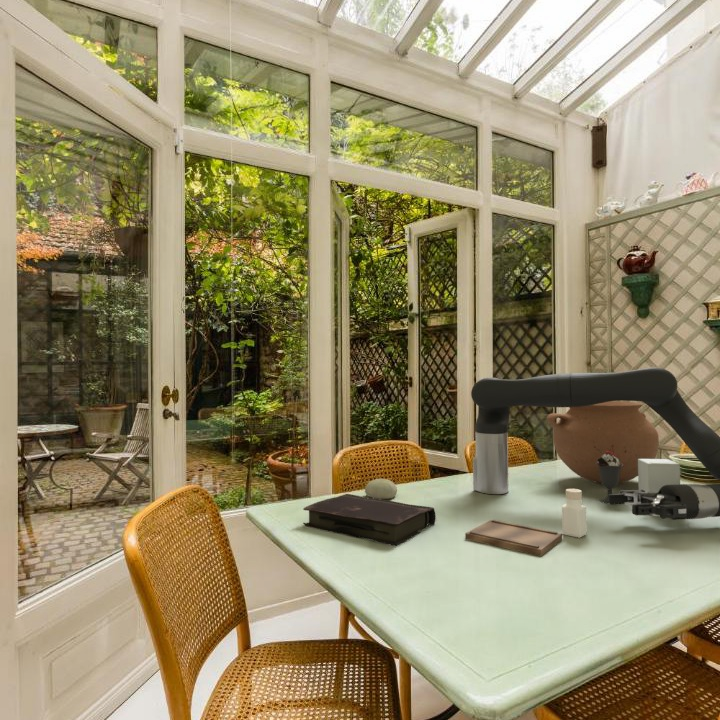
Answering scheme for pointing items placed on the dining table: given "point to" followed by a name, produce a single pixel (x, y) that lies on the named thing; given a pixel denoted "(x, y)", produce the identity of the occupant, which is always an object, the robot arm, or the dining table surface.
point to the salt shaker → (574, 514)
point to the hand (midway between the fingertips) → (620, 504)
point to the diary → (370, 518)
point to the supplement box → (657, 474)
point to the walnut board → (515, 537)
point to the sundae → (609, 471)
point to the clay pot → (604, 437)
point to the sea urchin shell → (381, 489)
